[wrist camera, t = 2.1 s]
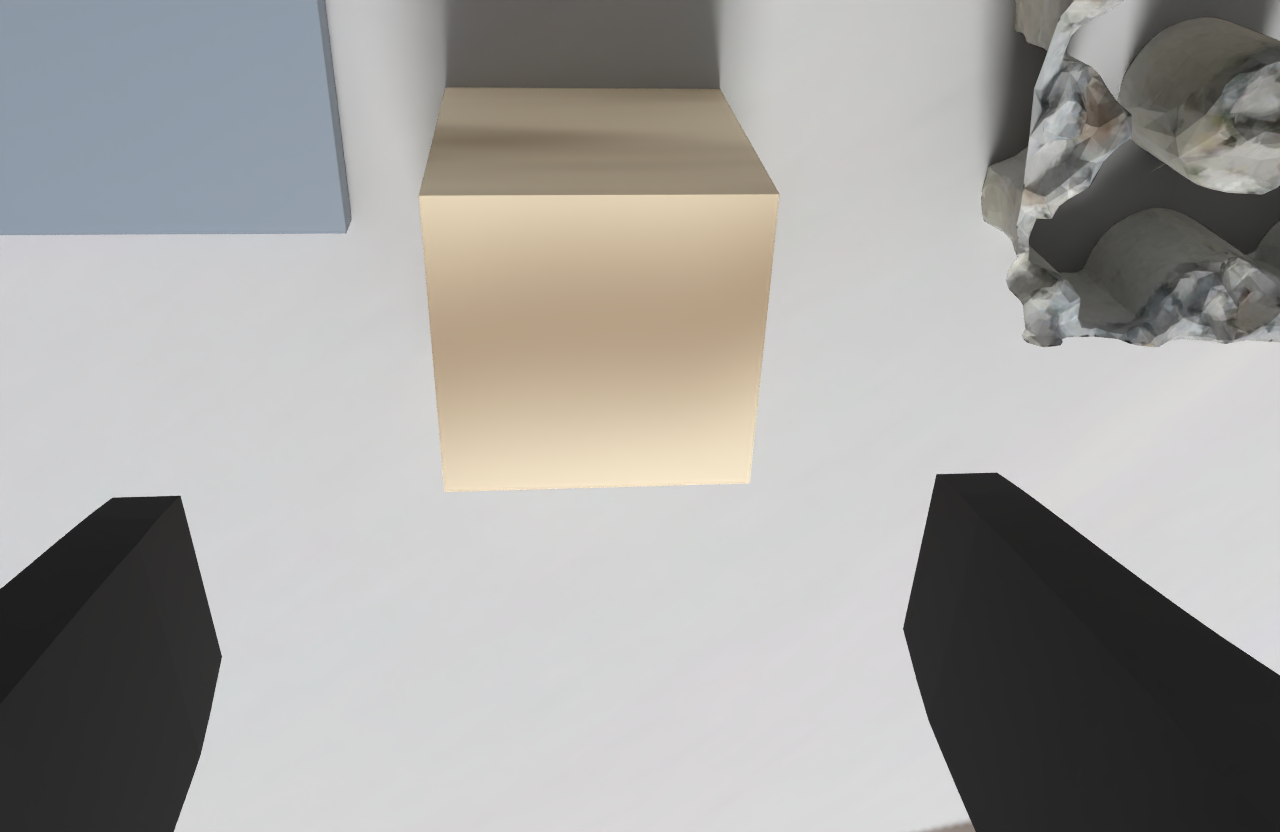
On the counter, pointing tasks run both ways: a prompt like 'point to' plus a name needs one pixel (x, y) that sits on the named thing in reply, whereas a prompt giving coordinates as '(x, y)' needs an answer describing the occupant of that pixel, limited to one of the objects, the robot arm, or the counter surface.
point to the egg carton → (1175, 134)
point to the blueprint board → (169, 118)
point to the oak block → (595, 287)
